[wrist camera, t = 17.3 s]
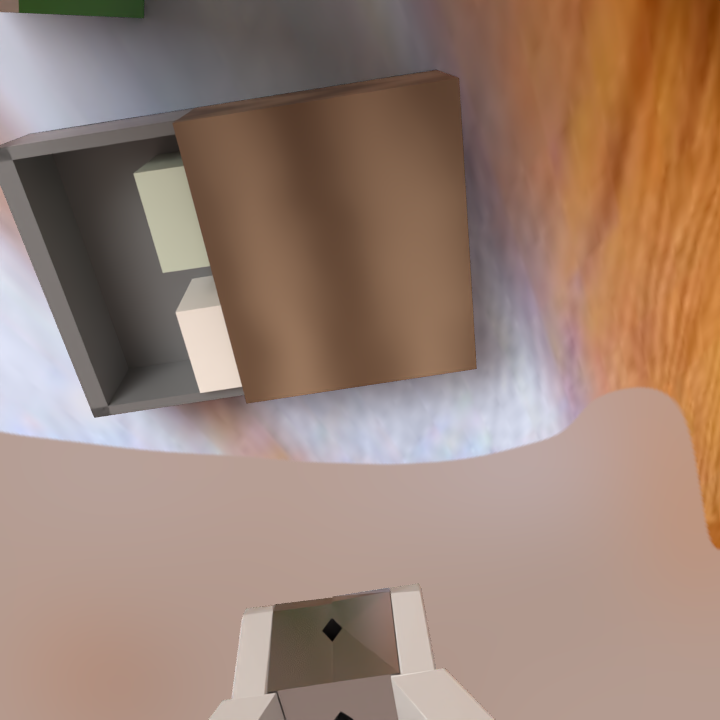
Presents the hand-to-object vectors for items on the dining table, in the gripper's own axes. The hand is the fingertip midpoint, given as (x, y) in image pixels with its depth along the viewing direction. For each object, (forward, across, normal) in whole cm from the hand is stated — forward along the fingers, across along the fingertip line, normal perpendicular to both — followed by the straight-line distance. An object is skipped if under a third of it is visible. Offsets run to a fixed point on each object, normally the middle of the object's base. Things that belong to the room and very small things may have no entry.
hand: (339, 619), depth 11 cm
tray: (+29, +10, +2) cm, 31 cm away
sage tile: (+26, +6, -2) cm, 27 cm away
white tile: (+26, +6, +6) cm, 27 cm away
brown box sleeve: (+29, -1, +2) cm, 29 cm away
